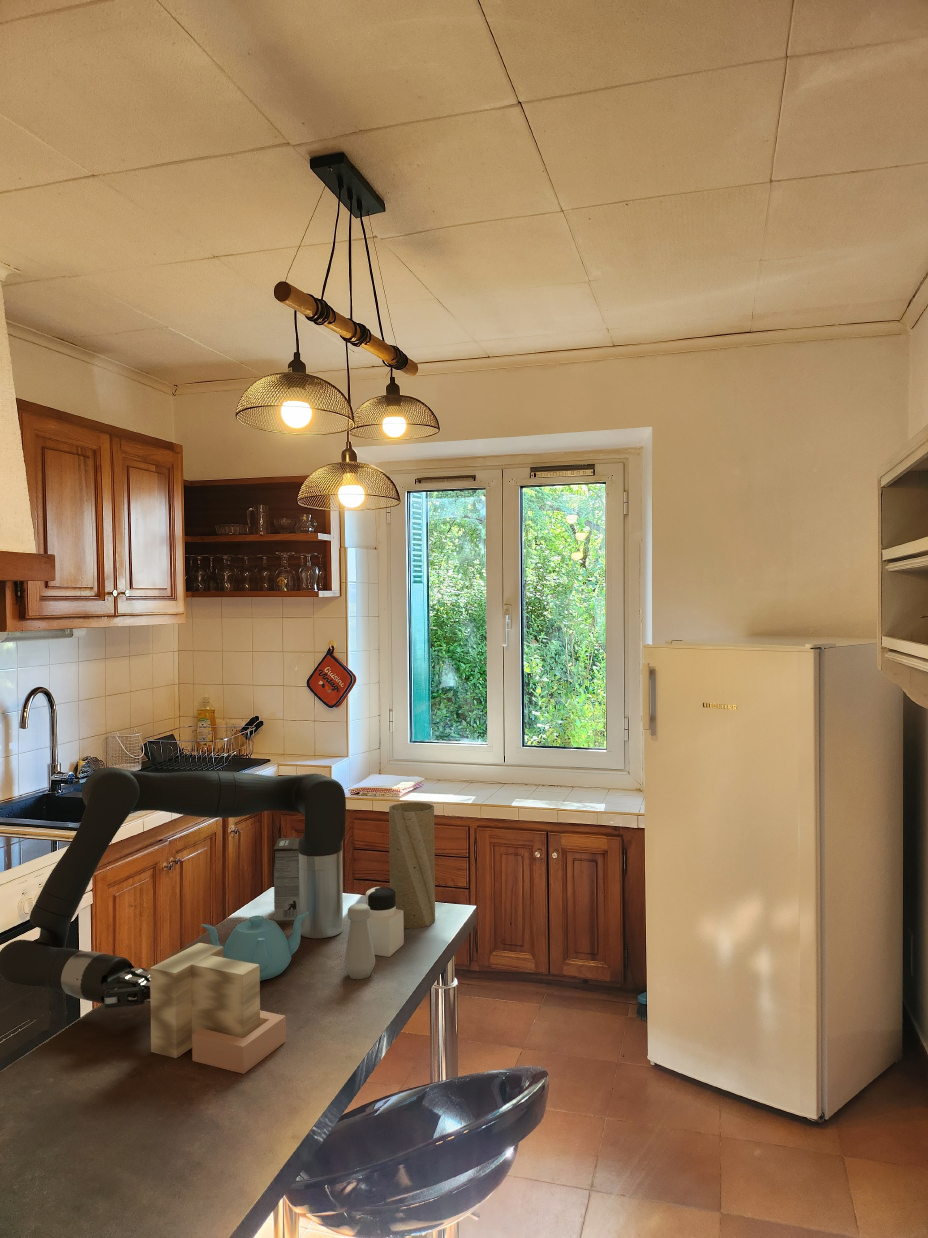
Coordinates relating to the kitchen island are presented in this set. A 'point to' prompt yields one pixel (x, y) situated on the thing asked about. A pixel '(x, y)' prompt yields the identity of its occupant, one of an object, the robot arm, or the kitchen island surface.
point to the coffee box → (286, 879)
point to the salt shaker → (359, 943)
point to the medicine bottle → (384, 921)
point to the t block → (201, 998)
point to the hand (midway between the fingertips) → (176, 994)
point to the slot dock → (240, 1044)
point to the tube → (413, 861)
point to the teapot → (260, 944)
